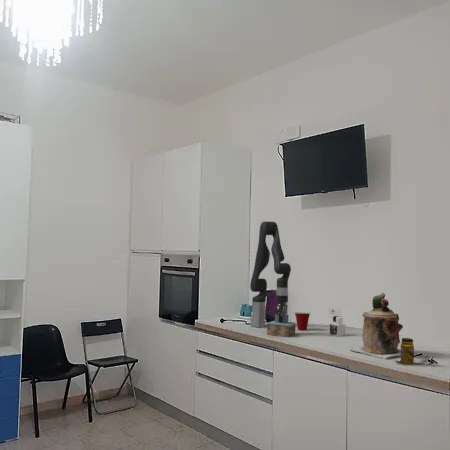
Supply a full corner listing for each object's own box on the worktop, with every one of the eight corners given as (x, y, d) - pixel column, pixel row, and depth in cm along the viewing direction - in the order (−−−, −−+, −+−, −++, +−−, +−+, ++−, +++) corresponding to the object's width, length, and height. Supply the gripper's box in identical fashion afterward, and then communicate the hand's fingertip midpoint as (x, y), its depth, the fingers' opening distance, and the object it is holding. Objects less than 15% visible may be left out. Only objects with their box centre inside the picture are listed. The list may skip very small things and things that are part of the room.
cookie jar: (347, 351, 269) (348, 291, 270) (375, 346, 284) (376, 290, 285) (387, 360, 249) (387, 295, 251) (414, 354, 264) (415, 294, 266)
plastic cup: (309, 328, 341) (310, 311, 342) (310, 331, 330) (311, 313, 331) (293, 328, 342) (294, 310, 343) (294, 330, 331) (294, 312, 332)
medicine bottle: (329, 334, 320) (329, 315, 320) (338, 334, 323) (338, 315, 323) (336, 336, 313) (337, 317, 314) (345, 335, 317) (345, 316, 317)
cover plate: (267, 325, 314) (268, 314, 314) (274, 322, 324) (274, 312, 324) (288, 327, 307) (288, 316, 308) (295, 324, 318) (295, 314, 318)
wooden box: (267, 334, 313) (267, 324, 313) (274, 332, 325) (275, 321, 325) (288, 337, 307) (288, 326, 307) (295, 334, 318) (295, 323, 318)
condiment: (416, 365, 238) (416, 340, 239) (397, 364, 239) (397, 339, 240) (412, 362, 245) (412, 337, 246) (394, 361, 247) (395, 336, 247)
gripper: (280, 293, 325) (280, 319, 324) (272, 294, 312) (271, 322, 311) (291, 294, 321) (291, 320, 320) (283, 295, 309) (283, 323, 308)
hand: (281, 321), depth 316 cm, fingers open, 3 cm apart
